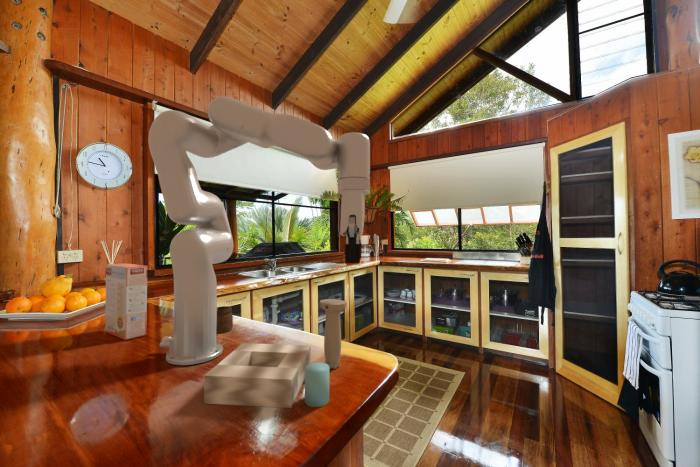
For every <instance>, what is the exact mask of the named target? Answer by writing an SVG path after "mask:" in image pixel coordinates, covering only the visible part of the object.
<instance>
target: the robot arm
mask: <svg viewBox="0 0 700 467" xmlns="http://www.w3.org/2000/svg"><path fill="white" fill-rule="evenodd" d="M207 115H208V116H207V117H208V118H209V119H208V120H209V121H210V122H211V124H212V125H210V126H208V125H207V124H205V123H203V122H202V121H201V120H199V119H197V118H195V117H193V116H192V115H190V114H188V113H186V112H183V111H181V110H176V109H175V110H172V109H170V110H164V111H162V112H161V113H159V114H158V115H157V116H156V117H155V118H154V119H153V121H152V123H151V125H150V127H149V131H148V139H147V140H148V148H149V152H150V155H151V158H152V161H153V164H154V167H155V170H156V173H157V176H158V181H159V182H158V183H159V186H160V189H161V193H162V196H163V197H162V198H163V201H164V202H163V203H164V205H165V210H166V212H167V215H168V217H169V219H170V220H171V221H172V222H174V223H176V224H179V225H185V226H186V225H187V226H195V228H188V229H183V230H182V231H179V232H178V233H177V234H176V235H175V236H174V237H173V238H172V239H171V241H170V242H171V243H170V244H169V256H170V262H171V267H172V273H173V274H172V275H173V336H167V335H166V336H163V337H162V339H161V341H160V343H159V347H160V348H168V351H167V353H166V354H165V361H166V362H167V363H168V364H171V365H176V366H191V365H196V364H198V365H199V364H201V363H206V362H208V361H209V362H210V361H211V360H214V359H216V358H218V357H220V355H221V354H223V350H224V347H223V344H221V343H220V342H217V333H216V324H217V307H218V303H217V302H218V297H217V296H218V290H217V288H218V286H217V284H218V282H217V275H216V273H215V270H214V266H213V265H215V264H221V263H223V262H226V261H227V260H228V259H229V258H230V257H231V256H232V254H233V252H234V239H233V234H232V230H231V226H230V223H229V218H228V214H227V211H226V209H225V205H224V203H223V202H222V200H221V199H220V197H218V196H217V195H215V194H214V193H212V192H209V191H207V190H206V191H205V190H203V189H202V188H201V185H200V183H199V179H198V175H197V170H196V168H195V166H194V163H193V162H192V161H191V159H190V157H189V155H188V153H190V154H193V155H195V156H197V157H200V158H204V159H210V158H211V159H212V158H215V157H218V156H220V155H221V156H222V154H223V155H224V154H225V153H227V152H229V151H232V150H235V149H237V148H239V147H242V146H243V145H245V144H247V143H250V144H253V145H255V146H257V147H260V148H262V149H269V148H271V147H276V148H280V149H283V150H285V151H288V152H291V153H293V154H295V155H299V156H301V157H303V158H305V159H307V160H308V161H309V162H310V163H311V164H312V165H313V166H314V167H315V168H317V169H318V170H323V171H328V170H334V169H337V195H339V196H341V203H340V204H341V205H340V232H339V233H340V235H341V236H342V237H345V245H344V247H345V248H344V260H345V261H344V262H345V263H346V264H359V263H361V259H362V243H361V237H362V235H364V228H365V227H364V226H365V213H366V212H365V206H366V201H365V200H366V197H365V196H369V195H371V140H370V138H369V136H368V135H367V134H365V133H362V132H357V131H356V132H355V131H353V132H346V133H343V134H341V135H340V136H339V137H338V140H337V139H334V138H333V136H332V135H331V133H330V132H329V131H328V130H327V129H325V127H322V126H321V125H319V124H316V123H314V122H312V121H310V120H306V119H304V118H300V117H299V116H298V117H297V116H295V115H292V114H287V113H275V112H271V111H267V110H265V109H262V108H259V107H257V106H254V105H252V104H250V103H247V102H244V101H242V100H241V101H240V100H238V99H236V98H233V97H231V96H217V97H215V98H213V99H212V100H210V102H209V104H208V106H207ZM187 152H188V153H187Z"/></svg>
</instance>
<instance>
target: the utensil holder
mask: <svg viewBox="0 0 700 467" xmlns="http://www.w3.org/2000/svg"><path fill="white" fill-rule="evenodd" d="M226 298H227V299H226ZM228 298H230V295H227V296H225V298H224V299H226V300H224V301H223V302H224V303H225V302H226V303H225V304H227V302H228ZM230 302H231V303H230ZM228 303H230V304H228V306H227V305H223V306H217V324H216V334H223V333H228V332H230V331H232V330H233V326H234V322H233V321H234V315H233V313H232V310H233V309H232V306H230V305H232V303H233V302H232V301H231V300H229V302H228Z"/></svg>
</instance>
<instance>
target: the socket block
mask: <svg viewBox="0 0 700 467" xmlns="http://www.w3.org/2000/svg"><path fill="white" fill-rule="evenodd" d="M308 364H311V345H303V344H302V345H301V344H298V345H297V344H279V343H278V344H276V343H275V344H272V343H252V342H251V343H249V342H242V343H241V344H239V346H238V347H236V348H235V349H234V350H233V351H232V352H230V353H229V354H228V355H227V356H225V357H224V358H223V359H222V360H221V361H220V362H219V363H217V364H216V365H215V366H214V367H213V368H211V369H210V370H209V371H207V372H206V374H204V377H203V383H204V384H203V387H204V388H203V403H204V404H206V405H207V404H209V405H210V404H211V405H229V406H230V405H231V406H247V407H263V408H264V407H265V408H282V409H283V408H284V409H292V408H293V406H294V403H295V401H296V399H297V397H298V395H299V392H300V390H301V389H302V386H303V383H305V367H306V366H307V365H308Z"/></svg>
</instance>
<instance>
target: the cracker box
mask: <svg viewBox="0 0 700 467" xmlns="http://www.w3.org/2000/svg"><path fill="white" fill-rule="evenodd" d="M147 304H148V265H145V264H143V265H141V264H135V263H127V262H126V263H125V262H122V263H119V262H118V263H109V264H105V306H104V308H105V312H104V332H105V333H107V334H109V335H112V336H114V337H117V338H119V339H121V340H124V341H127V340H132V339H136V338H140V337H144V336H147V317H148V316H147V310H148V309H147V308H148V307H147V306H148V305H147Z"/></svg>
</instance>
